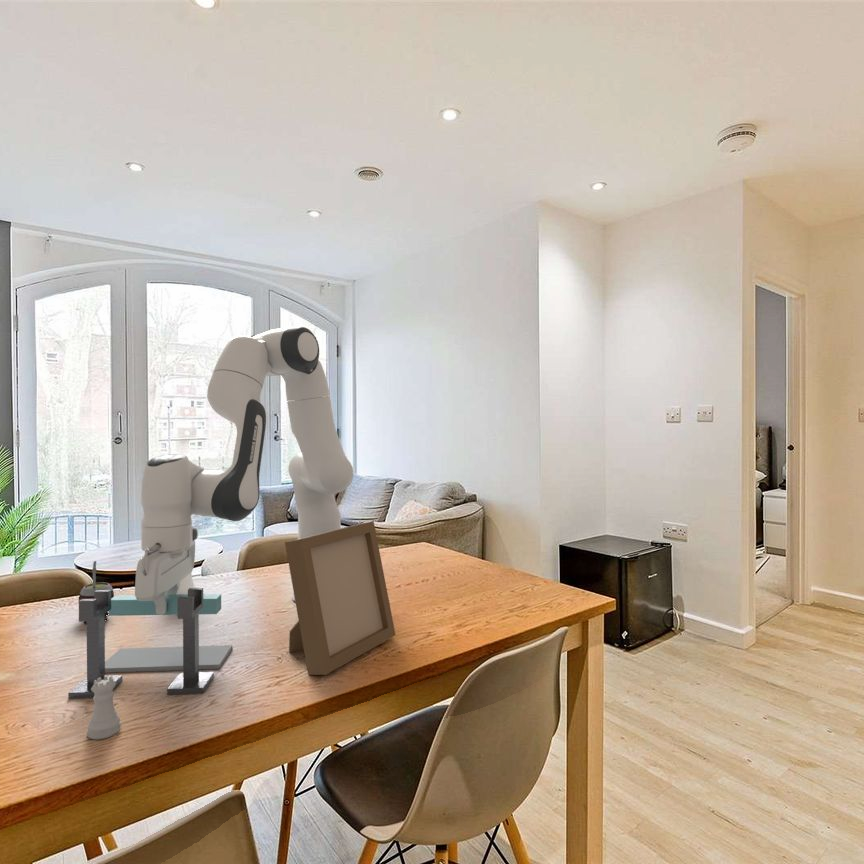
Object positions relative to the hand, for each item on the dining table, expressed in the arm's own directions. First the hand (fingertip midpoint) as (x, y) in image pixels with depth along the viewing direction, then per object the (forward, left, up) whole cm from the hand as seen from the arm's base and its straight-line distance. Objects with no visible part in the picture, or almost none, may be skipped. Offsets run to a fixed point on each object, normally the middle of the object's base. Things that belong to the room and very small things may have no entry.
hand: (166, 609), depth 108 cm
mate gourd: (+25, -24, -10) cm, 36 cm away
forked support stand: (0, +11, -10) cm, 15 cm away
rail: (0, 0, -1) cm, 1 cm away
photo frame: (-32, -2, -10) cm, 34 cm away
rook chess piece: (0, +25, -10) cm, 27 cm away
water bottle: (+11, -37, -10) cm, 40 cm away
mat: (0, 0, -10) cm, 10 cm away
